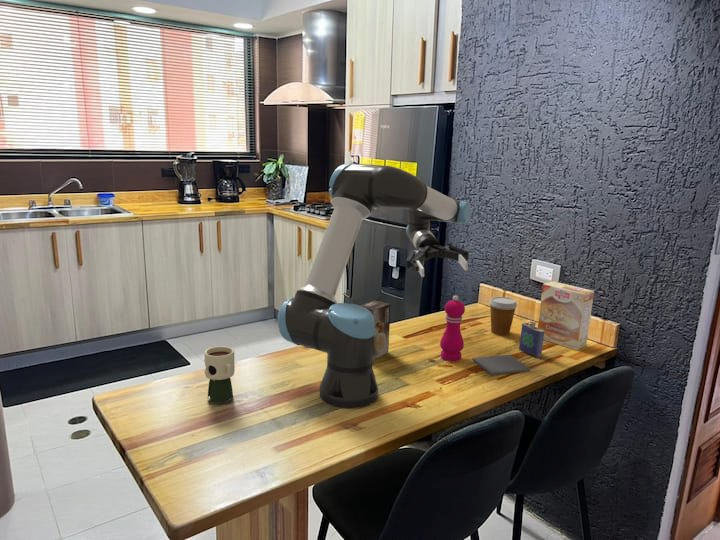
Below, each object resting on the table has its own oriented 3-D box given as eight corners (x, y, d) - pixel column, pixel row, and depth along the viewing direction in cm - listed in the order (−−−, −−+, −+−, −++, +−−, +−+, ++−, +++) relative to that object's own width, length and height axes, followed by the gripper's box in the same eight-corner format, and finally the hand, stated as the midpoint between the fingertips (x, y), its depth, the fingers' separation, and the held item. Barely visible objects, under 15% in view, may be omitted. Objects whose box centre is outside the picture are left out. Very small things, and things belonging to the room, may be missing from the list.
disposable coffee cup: (507, 339, 187) (511, 305, 184) (481, 332, 193) (485, 300, 190) (518, 332, 195) (521, 300, 192) (493, 326, 200) (496, 294, 197)
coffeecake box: (535, 337, 190) (542, 283, 185) (546, 333, 195) (552, 280, 190) (576, 351, 179) (584, 293, 175) (587, 346, 184) (595, 290, 179)
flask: (543, 357, 172) (547, 325, 170) (535, 359, 171) (539, 326, 169) (523, 347, 180) (526, 316, 178) (516, 348, 179) (519, 317, 177)
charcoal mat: (491, 375, 158) (491, 372, 158) (472, 360, 168) (472, 358, 168) (529, 371, 162) (530, 368, 161) (509, 356, 172) (509, 354, 172)
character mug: (197, 395, 139) (195, 347, 136) (223, 388, 143) (222, 341, 140) (217, 412, 131) (216, 361, 128) (244, 404, 135) (243, 354, 132)
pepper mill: (466, 356, 171) (471, 295, 166) (457, 364, 165) (462, 300, 160) (444, 351, 174) (449, 291, 170) (435, 358, 168) (439, 296, 164)
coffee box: (372, 347, 175) (374, 299, 171) (388, 352, 172) (391, 303, 168) (354, 355, 168) (356, 305, 164) (371, 361, 164) (374, 310, 161)
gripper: (462, 249, 188) (484, 275, 169) (391, 259, 185) (405, 286, 166) (462, 229, 185) (484, 252, 166) (389, 239, 182) (403, 264, 163)
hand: (444, 269), depth 166 cm, fingers open, 13 cm apart
